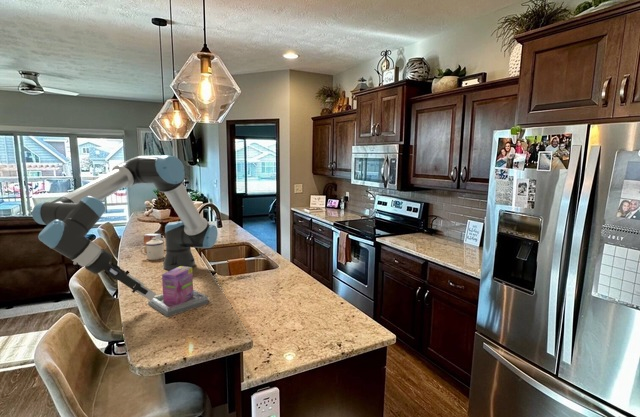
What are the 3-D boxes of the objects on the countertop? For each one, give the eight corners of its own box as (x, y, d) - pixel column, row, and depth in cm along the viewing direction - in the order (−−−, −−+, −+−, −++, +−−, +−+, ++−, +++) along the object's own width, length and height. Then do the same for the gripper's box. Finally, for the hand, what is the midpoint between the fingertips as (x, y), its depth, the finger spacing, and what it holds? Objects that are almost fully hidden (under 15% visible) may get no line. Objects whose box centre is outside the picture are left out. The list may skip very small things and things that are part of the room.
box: (176, 307, 122) (175, 275, 121) (163, 305, 124) (161, 274, 122) (194, 296, 132) (192, 266, 131) (181, 295, 134) (179, 265, 132)
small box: (144, 252, 207) (143, 235, 206) (150, 249, 213) (149, 233, 211) (156, 252, 206) (155, 235, 205) (161, 250, 211) (160, 233, 210)
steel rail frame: (188, 290, 139) (188, 287, 139) (207, 300, 129) (207, 296, 129) (150, 301, 128) (149, 297, 128) (167, 312, 118) (167, 308, 118)
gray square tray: (189, 292, 140) (189, 289, 140) (209, 303, 129) (209, 300, 129) (148, 304, 128) (148, 301, 128) (167, 316, 117) (166, 313, 117)
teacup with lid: (164, 255, 199) (163, 235, 198) (164, 259, 191) (163, 238, 190) (141, 257, 194) (139, 237, 193) (140, 261, 186) (139, 240, 185)
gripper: (77, 259, 116) (129, 291, 128) (91, 276, 98) (150, 312, 110) (94, 242, 119) (144, 274, 131) (111, 255, 101) (167, 292, 113)
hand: (147, 291), depth 120 cm, fingers open, 13 cm apart
